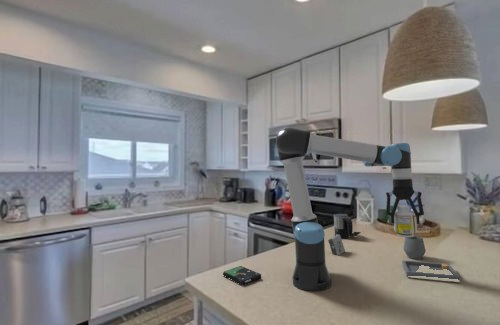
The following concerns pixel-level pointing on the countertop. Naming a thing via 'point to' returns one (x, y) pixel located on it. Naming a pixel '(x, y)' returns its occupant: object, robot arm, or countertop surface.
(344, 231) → the milk frother
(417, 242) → the cup
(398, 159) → the robot arm
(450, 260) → the countertop surface
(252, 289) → the countertop surface
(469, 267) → the countertop surface
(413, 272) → the grey tray
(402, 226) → the supplement bottle
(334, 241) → the electrical switch
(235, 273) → the disk drive
